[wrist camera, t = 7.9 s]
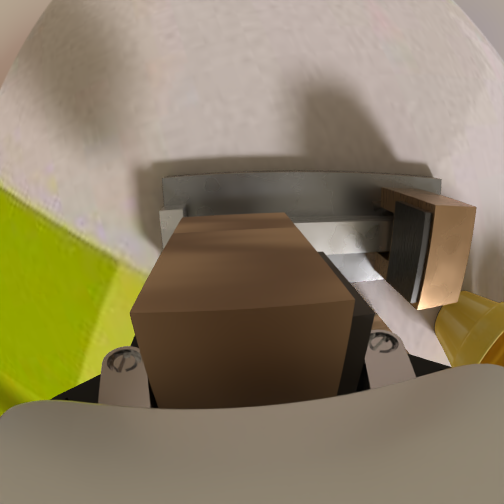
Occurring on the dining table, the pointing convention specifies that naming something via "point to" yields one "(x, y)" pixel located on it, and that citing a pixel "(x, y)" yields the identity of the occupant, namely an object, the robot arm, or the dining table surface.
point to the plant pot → (472, 330)
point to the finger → (248, 317)
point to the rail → (293, 199)
